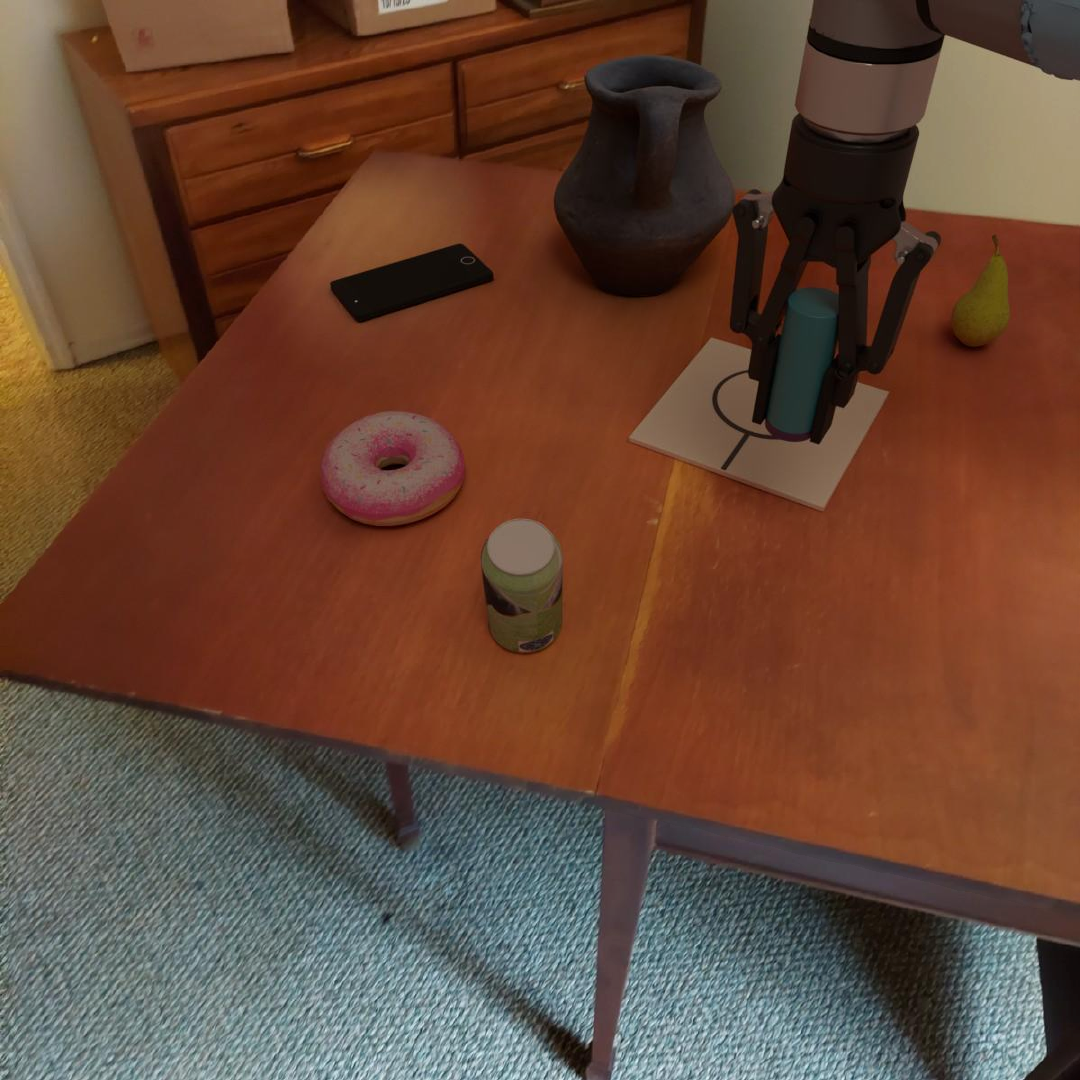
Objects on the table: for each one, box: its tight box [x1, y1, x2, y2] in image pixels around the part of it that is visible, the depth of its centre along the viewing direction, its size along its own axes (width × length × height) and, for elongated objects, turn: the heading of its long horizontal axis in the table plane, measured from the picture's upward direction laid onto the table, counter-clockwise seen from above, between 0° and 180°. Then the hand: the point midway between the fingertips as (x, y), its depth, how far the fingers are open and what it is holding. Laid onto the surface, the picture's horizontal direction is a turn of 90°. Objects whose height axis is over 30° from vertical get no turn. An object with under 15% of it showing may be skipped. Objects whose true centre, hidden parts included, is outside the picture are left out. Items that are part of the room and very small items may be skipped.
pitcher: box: [553, 54, 736, 297], centre depth 107 cm, size 21×22×25 cm
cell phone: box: [329, 243, 495, 323], centre depth 115 cm, size 9×18×1 cm, turn 120°
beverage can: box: [480, 518, 564, 654], centre depth 74 cm, size 6×7×12 cm
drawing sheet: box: [628, 336, 890, 513], centre depth 97 cm, size 20×20×1 cm
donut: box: [319, 410, 466, 527], centre depth 89 cm, size 14×13×5 cm
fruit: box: [950, 234, 1011, 348], centre depth 101 cm, size 6×6×12 cm
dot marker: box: [765, 286, 839, 442], centre depth 70 cm, size 4×4×11 cm
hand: (791, 423), depth 74 cm, fingers closed on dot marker, 4 cm apart
